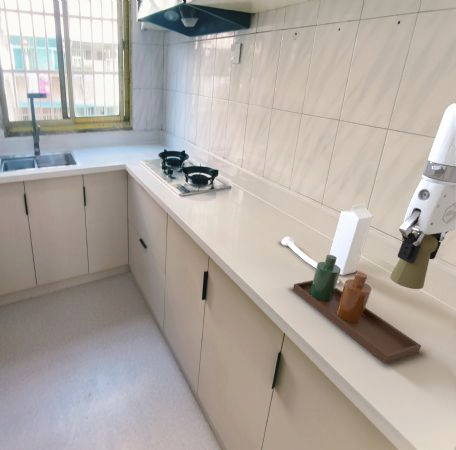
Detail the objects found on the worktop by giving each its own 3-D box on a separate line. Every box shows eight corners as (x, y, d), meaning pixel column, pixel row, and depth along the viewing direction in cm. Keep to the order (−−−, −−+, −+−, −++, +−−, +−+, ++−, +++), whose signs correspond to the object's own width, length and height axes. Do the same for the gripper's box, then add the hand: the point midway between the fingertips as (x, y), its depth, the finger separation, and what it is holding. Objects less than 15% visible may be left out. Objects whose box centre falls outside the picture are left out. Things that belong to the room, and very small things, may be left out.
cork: (409, 273, 76) (426, 228, 71) (430, 289, 70) (451, 241, 66) (383, 273, 75) (399, 228, 71) (403, 289, 70) (421, 241, 65)
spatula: (346, 283, 99) (349, 275, 98) (335, 285, 98) (337, 277, 97) (289, 242, 124) (290, 235, 123) (279, 242, 123) (280, 235, 122)
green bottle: (321, 288, 95) (331, 250, 91) (337, 299, 91) (348, 260, 86) (305, 291, 94) (315, 253, 89) (320, 303, 89) (331, 263, 84)
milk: (355, 272, 106) (377, 206, 97) (341, 275, 103) (362, 208, 94) (338, 262, 111) (358, 199, 102) (325, 266, 108) (344, 201, 99)
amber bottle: (347, 307, 88) (360, 267, 83) (366, 320, 83) (381, 279, 78) (330, 311, 86) (343, 270, 81) (349, 325, 81) (363, 283, 76)
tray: (320, 284, 98) (322, 278, 98) (418, 353, 74) (421, 345, 73) (292, 290, 95) (294, 283, 94) (385, 364, 71) (388, 356, 70)
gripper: (439, 181, 57) (404, 273, 64) (501, 175, 63) (462, 261, 70) (397, 170, 63) (369, 255, 71) (456, 166, 69) (425, 245, 76)
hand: (415, 257), depth 70 cm, fingers closed on cork, 5 cm apart
